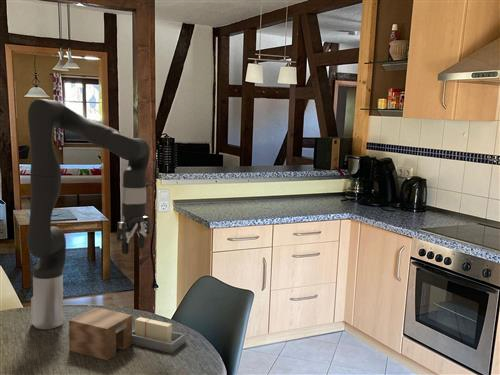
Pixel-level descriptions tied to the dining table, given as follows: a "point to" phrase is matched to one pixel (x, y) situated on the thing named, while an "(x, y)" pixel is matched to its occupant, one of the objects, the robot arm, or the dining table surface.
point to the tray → (160, 342)
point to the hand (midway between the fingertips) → (133, 251)
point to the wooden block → (100, 333)
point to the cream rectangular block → (153, 329)
